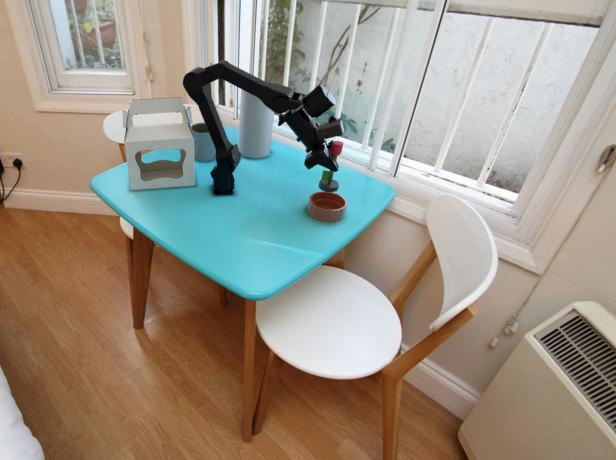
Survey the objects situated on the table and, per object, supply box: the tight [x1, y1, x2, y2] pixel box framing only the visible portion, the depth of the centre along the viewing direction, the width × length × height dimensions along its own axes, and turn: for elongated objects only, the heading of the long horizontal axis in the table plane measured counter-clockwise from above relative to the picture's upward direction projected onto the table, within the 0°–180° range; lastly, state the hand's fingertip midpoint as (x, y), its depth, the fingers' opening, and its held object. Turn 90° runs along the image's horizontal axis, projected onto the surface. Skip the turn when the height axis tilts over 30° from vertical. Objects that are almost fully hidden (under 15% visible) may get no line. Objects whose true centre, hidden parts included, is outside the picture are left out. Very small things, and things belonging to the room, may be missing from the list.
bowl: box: [306, 191, 348, 223], centre depth 112 cm, size 11×11×4 cm
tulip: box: [318, 140, 344, 193], centre depth 107 cm, size 6×6×14 cm
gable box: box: [122, 96, 196, 191], centre depth 124 cm, size 22×13×28 cm, turn 96°
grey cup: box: [191, 122, 216, 163], centre depth 143 cm, size 10×10×12 cm
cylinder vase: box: [237, 89, 275, 160], centre depth 141 cm, size 12×12×25 cm
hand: (337, 169), depth 107 cm, fingers closed on tulip
